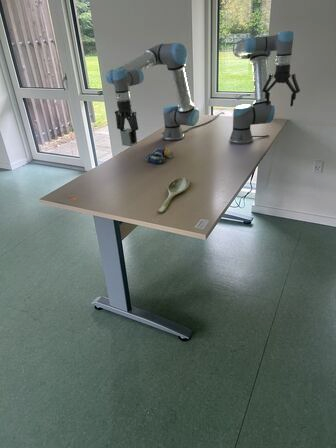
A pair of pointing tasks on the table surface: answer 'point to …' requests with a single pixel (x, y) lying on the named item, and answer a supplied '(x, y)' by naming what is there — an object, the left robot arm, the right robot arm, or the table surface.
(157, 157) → the blue toy gun
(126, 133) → the grey metal block
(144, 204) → the table surface
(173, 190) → the spoon
